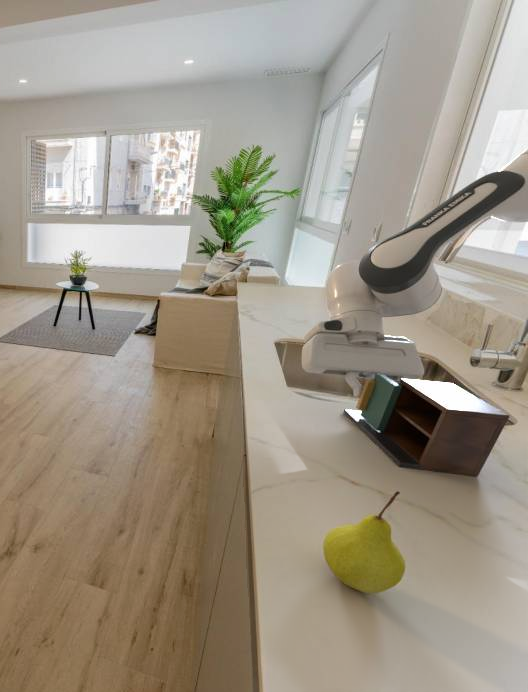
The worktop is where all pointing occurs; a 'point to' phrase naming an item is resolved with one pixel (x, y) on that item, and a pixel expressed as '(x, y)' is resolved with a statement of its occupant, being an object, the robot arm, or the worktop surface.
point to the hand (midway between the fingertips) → (364, 396)
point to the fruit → (365, 554)
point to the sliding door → (378, 400)
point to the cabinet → (437, 428)
